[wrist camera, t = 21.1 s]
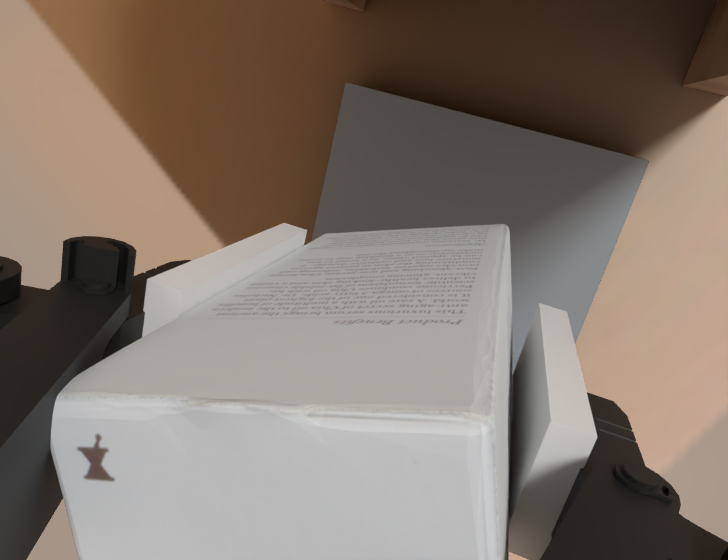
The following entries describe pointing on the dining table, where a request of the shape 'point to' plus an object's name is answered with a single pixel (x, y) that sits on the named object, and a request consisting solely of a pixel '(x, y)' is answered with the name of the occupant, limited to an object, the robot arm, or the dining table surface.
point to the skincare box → (308, 412)
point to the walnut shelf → (709, 65)
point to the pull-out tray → (482, 193)
